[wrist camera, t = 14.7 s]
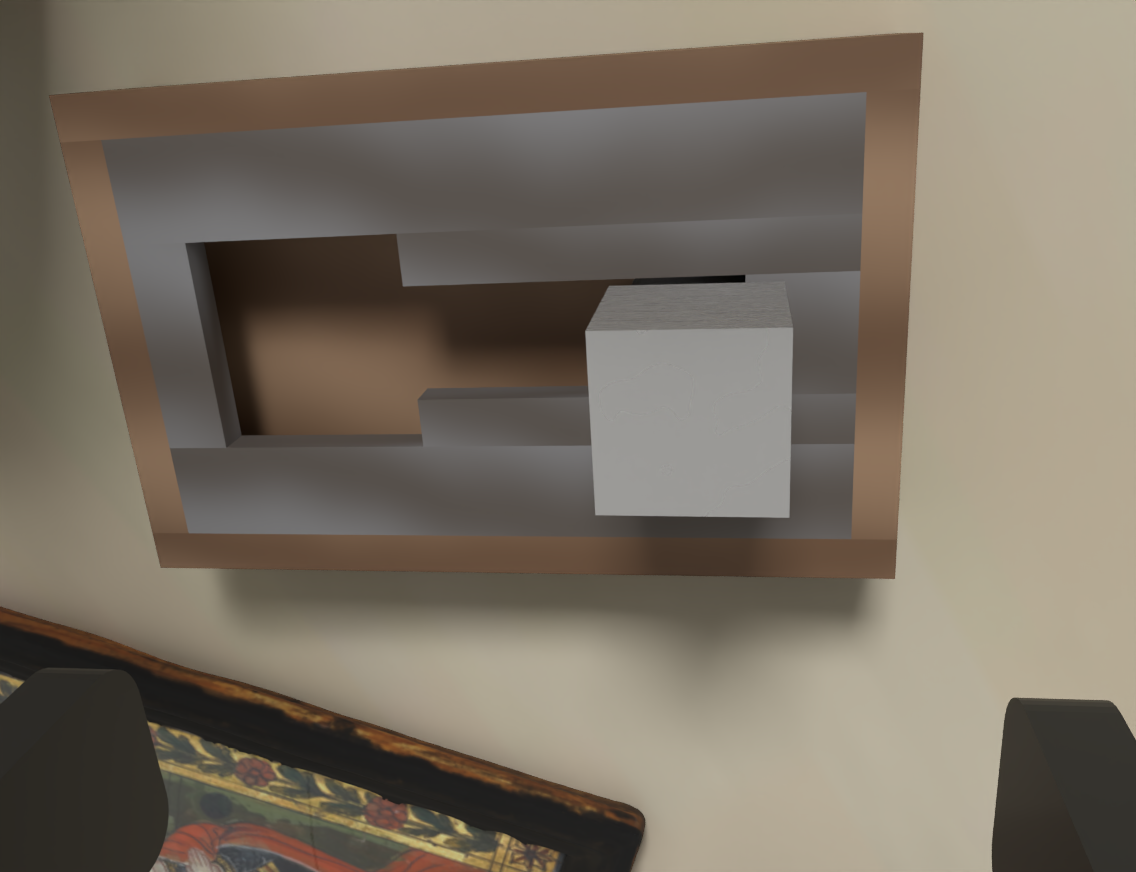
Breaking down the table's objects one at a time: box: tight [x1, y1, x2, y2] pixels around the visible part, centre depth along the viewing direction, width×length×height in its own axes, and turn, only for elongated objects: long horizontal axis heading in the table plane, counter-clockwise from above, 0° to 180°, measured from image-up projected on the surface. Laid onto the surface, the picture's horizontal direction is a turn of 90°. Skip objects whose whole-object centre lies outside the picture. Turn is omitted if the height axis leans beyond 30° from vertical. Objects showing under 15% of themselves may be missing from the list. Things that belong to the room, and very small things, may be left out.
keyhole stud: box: [585, 275, 793, 518], centre depth 25 cm, size 4×4×10 cm
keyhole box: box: [49, 33, 923, 579], centre depth 29 cm, size 14×22×4 cm, turn 94°
